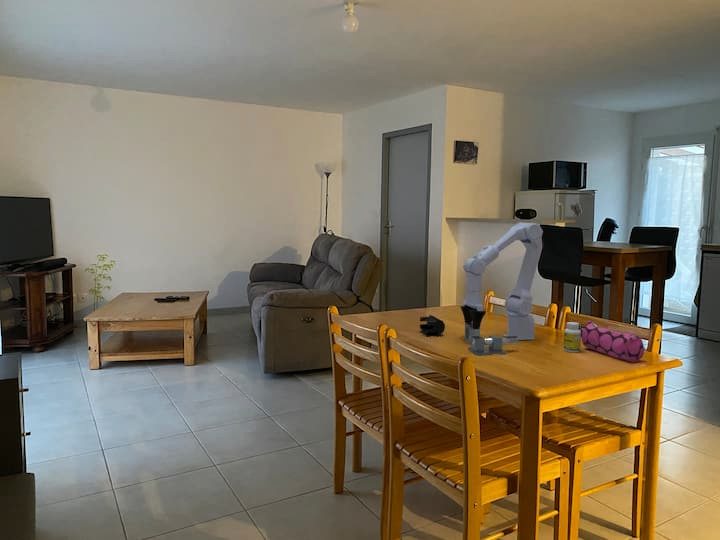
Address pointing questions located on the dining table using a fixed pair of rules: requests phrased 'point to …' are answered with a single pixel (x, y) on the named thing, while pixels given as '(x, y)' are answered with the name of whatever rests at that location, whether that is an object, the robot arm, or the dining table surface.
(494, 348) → the shaft stand
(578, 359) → the dining table surface
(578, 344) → the supplement bottle
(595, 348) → the pencil case
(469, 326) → the collar
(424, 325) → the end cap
